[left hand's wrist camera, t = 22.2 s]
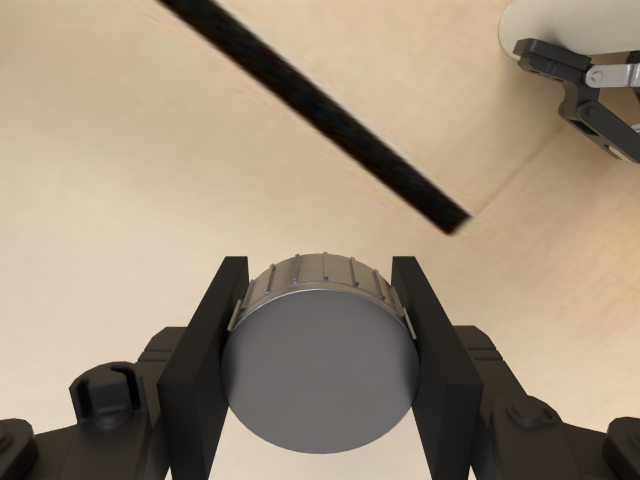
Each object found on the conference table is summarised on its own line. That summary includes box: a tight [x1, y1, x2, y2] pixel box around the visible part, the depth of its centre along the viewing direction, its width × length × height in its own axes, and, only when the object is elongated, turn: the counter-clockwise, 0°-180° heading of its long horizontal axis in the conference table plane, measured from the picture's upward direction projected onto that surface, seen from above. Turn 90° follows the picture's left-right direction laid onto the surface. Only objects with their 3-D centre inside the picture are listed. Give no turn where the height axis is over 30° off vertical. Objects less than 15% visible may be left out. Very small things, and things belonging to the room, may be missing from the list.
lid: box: [220, 252, 420, 454], centre depth 12 cm, size 5×5×2 cm
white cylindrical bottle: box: [499, 0, 640, 60], centre depth 22 cm, size 4×4×17 cm
